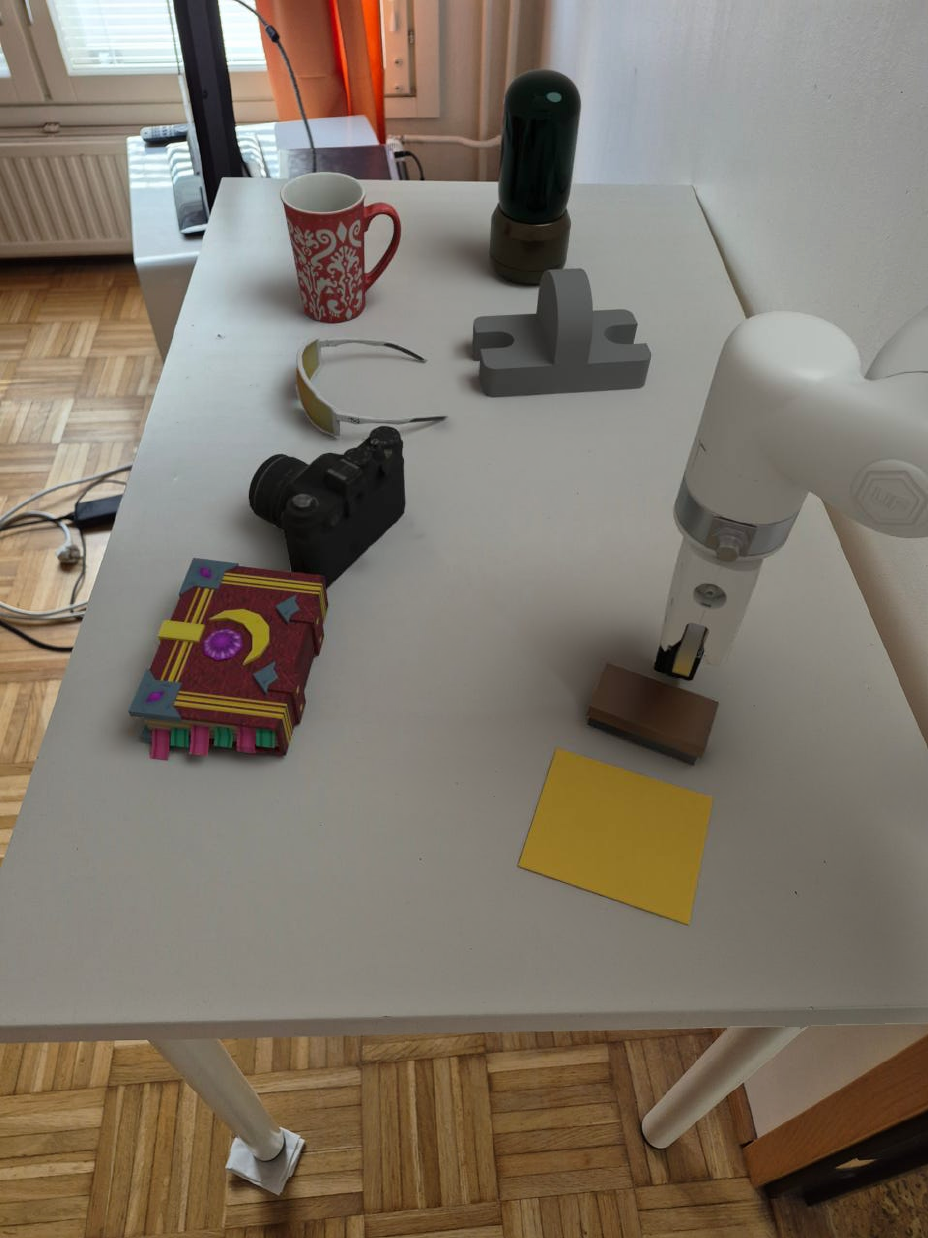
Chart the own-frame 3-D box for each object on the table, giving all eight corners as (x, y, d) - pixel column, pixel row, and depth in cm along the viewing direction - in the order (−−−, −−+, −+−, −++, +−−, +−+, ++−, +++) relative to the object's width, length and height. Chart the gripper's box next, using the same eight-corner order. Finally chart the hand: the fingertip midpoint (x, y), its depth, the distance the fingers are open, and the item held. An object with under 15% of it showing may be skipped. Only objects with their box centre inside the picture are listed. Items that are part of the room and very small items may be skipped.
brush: (709, 722, 69) (719, 701, 67) (695, 769, 67) (705, 748, 64) (600, 683, 71) (606, 661, 69) (583, 726, 69) (588, 705, 66)
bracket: (647, 387, 96) (668, 297, 88) (483, 398, 94) (489, 306, 86) (625, 336, 102) (643, 247, 94) (470, 345, 100) (474, 254, 91)
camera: (333, 464, 87) (323, 378, 79) (419, 510, 83) (419, 426, 75) (231, 547, 79) (209, 462, 72) (321, 602, 76) (309, 519, 68)
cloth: (712, 798, 65) (713, 797, 65) (688, 925, 59) (689, 924, 59) (556, 749, 68) (556, 747, 67) (517, 866, 62) (518, 865, 61)
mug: (293, 329, 101) (277, 212, 90) (295, 285, 106) (281, 171, 96) (404, 327, 102) (402, 211, 91) (400, 283, 107) (398, 170, 97)
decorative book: (332, 607, 75) (327, 568, 71) (286, 775, 65) (277, 740, 61) (202, 592, 76) (190, 553, 72) (136, 756, 66) (118, 720, 62)
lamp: (556, 247, 114) (579, 55, 97) (572, 287, 108) (599, 90, 91) (483, 249, 113) (493, 56, 96) (494, 290, 107) (507, 92, 90)
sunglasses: (286, 365, 96) (287, 324, 92) (420, 365, 100) (426, 326, 97) (304, 450, 87) (306, 409, 84) (450, 446, 92) (458, 407, 88)
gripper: (783, 603, 52) (705, 759, 66) (805, 446, 61) (732, 613, 75) (657, 570, 53) (607, 730, 68) (697, 421, 62) (646, 590, 77)
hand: (673, 668), depth 71 cm, fingers closed
